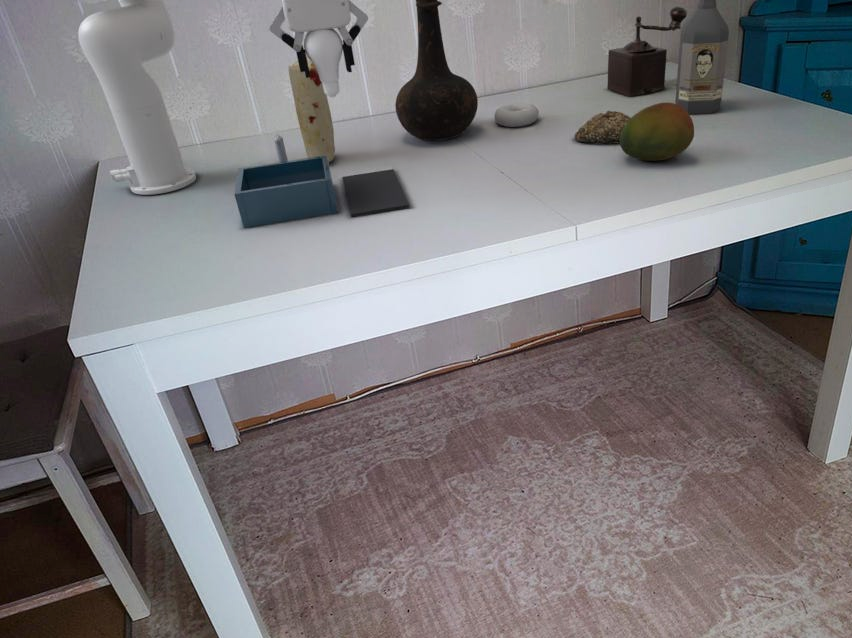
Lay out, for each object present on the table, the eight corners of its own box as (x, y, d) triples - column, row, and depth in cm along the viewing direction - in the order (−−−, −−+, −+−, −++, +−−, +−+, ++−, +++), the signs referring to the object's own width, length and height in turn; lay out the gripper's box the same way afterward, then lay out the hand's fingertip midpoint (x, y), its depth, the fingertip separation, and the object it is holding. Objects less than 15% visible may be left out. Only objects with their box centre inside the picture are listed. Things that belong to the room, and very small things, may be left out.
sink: (243, 228, 118) (226, 166, 112) (247, 196, 131) (231, 139, 125) (338, 212, 120) (326, 151, 114) (332, 182, 133) (321, 126, 127)
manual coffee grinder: (631, 98, 167) (634, 15, 157) (606, 89, 176) (608, 10, 166) (684, 87, 172) (691, 6, 162) (657, 79, 181) (662, 2, 171)
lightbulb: (358, 94, 117) (346, 22, 110) (329, 103, 113) (315, 29, 107) (336, 90, 120) (323, 21, 114) (307, 99, 117) (292, 27, 111)
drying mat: (351, 217, 118) (350, 213, 118) (342, 179, 134) (342, 176, 134) (409, 207, 120) (409, 204, 119) (394, 171, 136) (393, 168, 136)
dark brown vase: (404, 152, 146) (384, 3, 130) (395, 129, 160) (376, -7, 145) (487, 140, 148) (477, -7, 132) (471, 119, 163) (460, -16, 147)
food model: (341, 164, 142) (321, 60, 131) (308, 170, 141) (285, 65, 130) (337, 151, 150) (318, 51, 139) (306, 156, 149) (284, 56, 138)
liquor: (674, 104, 160) (685, -47, 143) (715, 102, 159) (732, -50, 142) (677, 115, 153) (690, -42, 136) (721, 113, 151) (739, -46, 134)
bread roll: (632, 146, 138) (633, 120, 135) (570, 144, 141) (570, 119, 139) (641, 127, 147) (643, 102, 145) (584, 126, 151) (584, 102, 148)
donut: (525, 131, 152) (546, 117, 159) (524, 115, 150) (546, 102, 157) (486, 127, 157) (509, 114, 164) (485, 111, 155) (508, 99, 162)
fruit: (700, 163, 127) (706, 106, 121) (637, 175, 124) (640, 117, 119) (668, 146, 136) (672, 92, 130) (609, 156, 134) (611, 102, 128)
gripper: (360, -60, 109) (378, 62, 119) (247, -49, 106) (275, 75, 116) (364, -58, 103) (383, 71, 113) (245, -46, 100) (275, 85, 110)
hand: (328, 72), depth 115 cm, fingers closed on lightbulb, 6 cm apart
